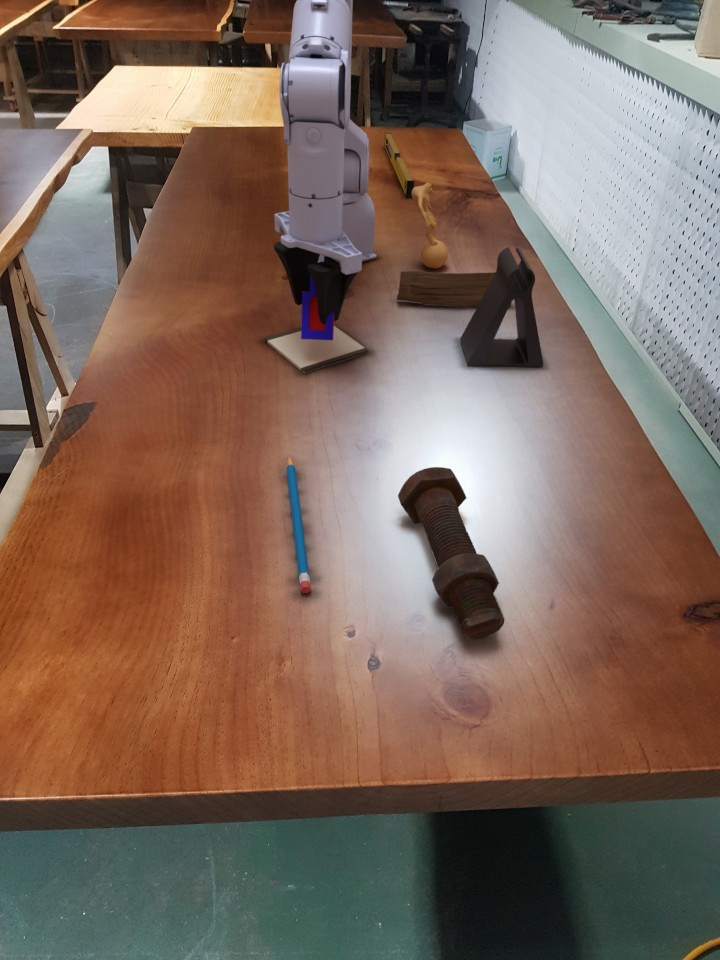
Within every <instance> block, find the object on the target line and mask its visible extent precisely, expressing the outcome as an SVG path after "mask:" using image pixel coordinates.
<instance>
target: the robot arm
mask: <svg viewBox="0 0 720 960" xmlns="http://www.w3.org/2000/svg"><path fill="white" fill-rule="evenodd" d="M353 2H354V0H296V2H295V3H294V6H293V11H292V12H293V13H292V24H291V32H290V34H291V35H290V42H289V43H290V45H289V55H288V61H287V63H286V62H282V63H281V67H280V73H279V107H280V112H281V117H282V123H283V139H284V144H285V145H287V151H286V152H287V153H286V154H287V185H288V186H287V187H288V188H287V189H288V211H283V212H277V213H274V231H275V232H277V233H278V234H283V233H284V235H281V236H280V241H277V242H275V243H274V244H273V248H274V251H275V253H276V254H277V256H278V258H279V259H280V262H281V264H282V266H283V268H284V271H285V273H286V277H287V280H288V282H289V287H290V291H291V294H292V298H293V301H294V304H296V305H297V306H300V305H301V306H302V292H310V277H312V279H313V282H314V286H315V289H316V294H317V304H318V314H319V318H320V321H321V322H322V323H323V324H326V319H327V318H328V316H329V315H330V314H331V313H332V312H333V310H334V321H336V322H337V321H338V320H339V318H340V315H341V312H342V308H343V305H344V301H345V298H346V296H347V293H348V290H349V288H350V286H351V284H352V282H353V281H354V280H355V277H356V276H357V275H358V273H359V272H362V270H363V266H362V265H363V262H366V261H370V260H374V259H377V254H376V253H375V252H374V249H375V248H374V247H375V231H376V230H375V229H376V211H375V210H376V209H375V205H374V202H373V200H372V198H371V196H370V195H369V194H368V191H369V178H370V177H369V176H370V150H369V149H370V139H369V138H368V134H367V133H366V132H365V131H364V130H362V129H361V128H360V126H358V125H357V124H355V122H354V121H353V120H352V119H351V96H352V95H351V94H352V93H351V91H352V90H351V89H352V85H351V84H352V51H353V50H352V48H353V46H352V45H353V4H354V3H353Z"/></svg>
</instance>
